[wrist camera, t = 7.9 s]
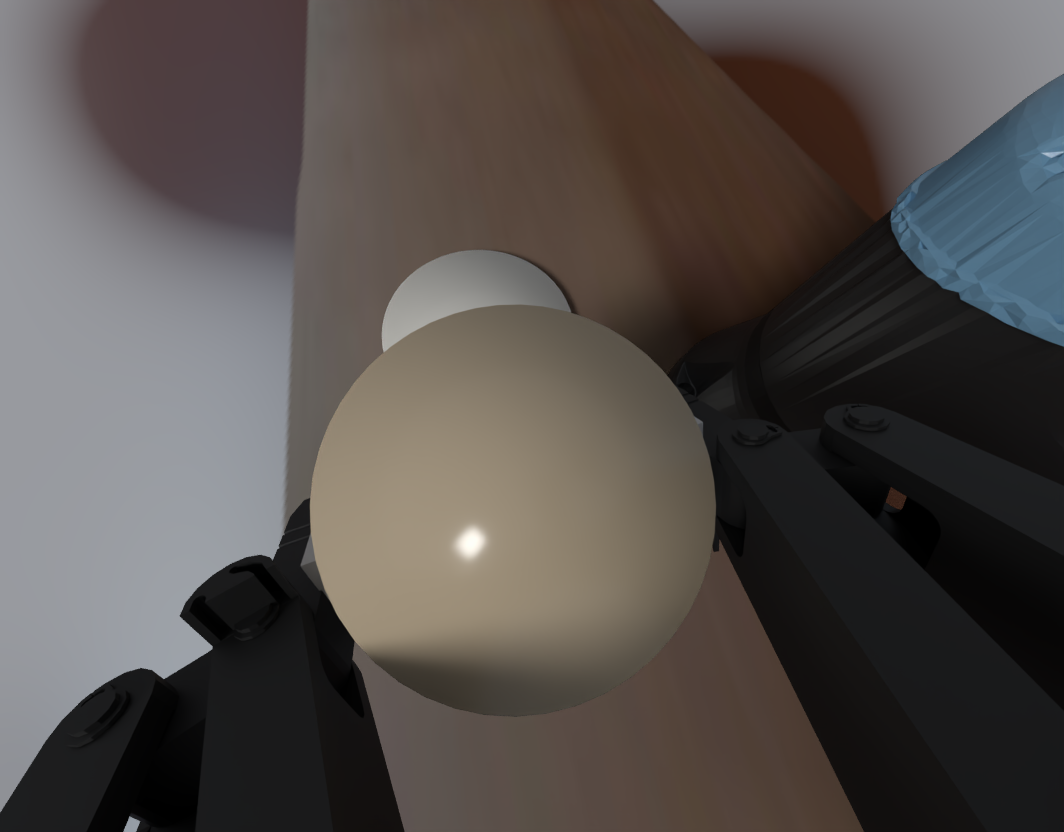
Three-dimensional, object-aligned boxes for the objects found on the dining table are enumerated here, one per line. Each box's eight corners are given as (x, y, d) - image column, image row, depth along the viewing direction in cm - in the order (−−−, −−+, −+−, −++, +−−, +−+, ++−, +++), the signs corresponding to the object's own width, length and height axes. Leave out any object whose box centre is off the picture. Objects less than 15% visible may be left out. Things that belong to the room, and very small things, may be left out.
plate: (516, 233, 34) (516, 225, 33) (607, 369, 31) (610, 364, 30) (356, 301, 31) (351, 293, 30) (436, 459, 28) (434, 457, 27)
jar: (541, 411, 17) (581, 254, 7) (620, 543, 16) (797, 556, 6) (406, 482, 16) (250, 403, 6) (479, 633, 14) (419, 830, 5)
